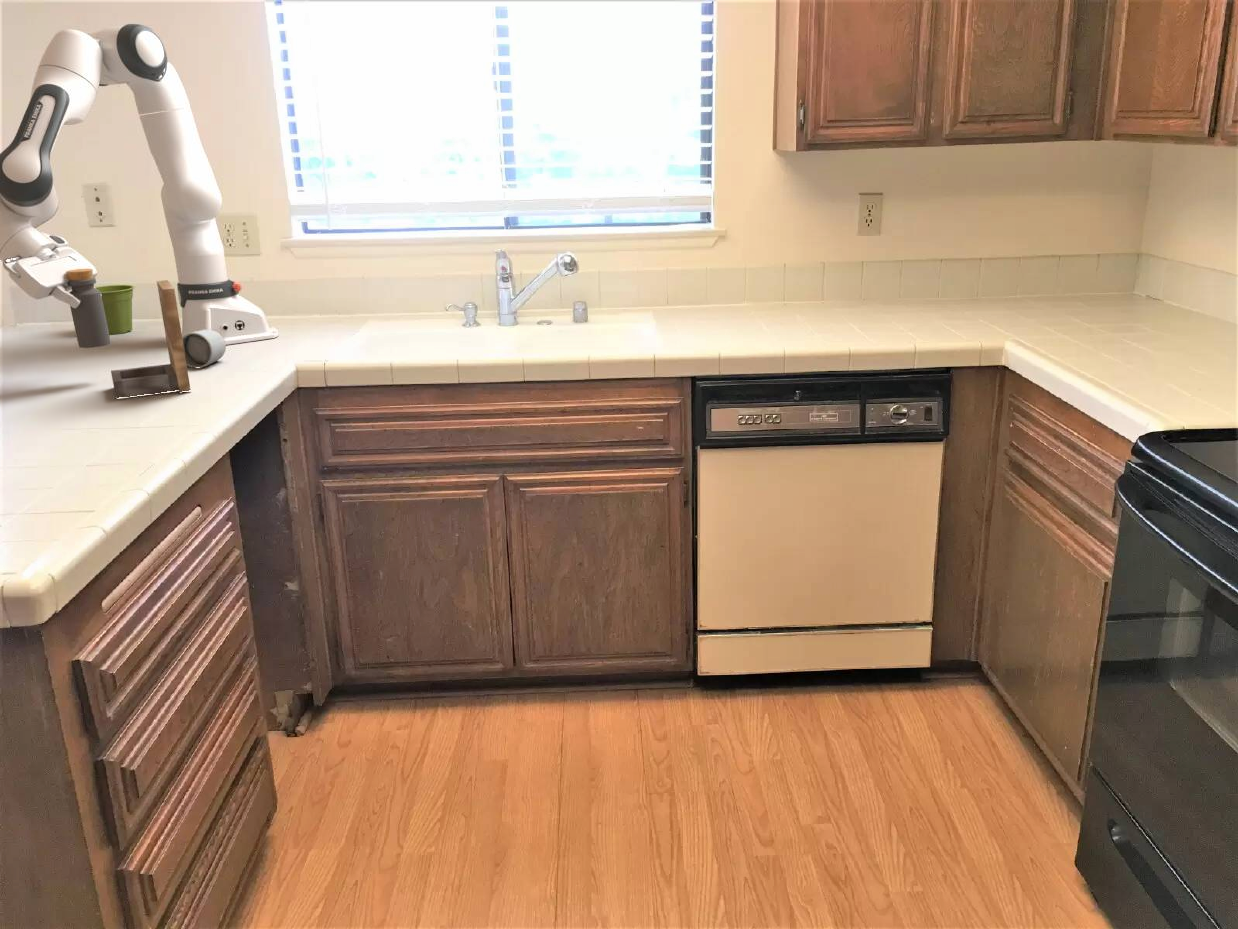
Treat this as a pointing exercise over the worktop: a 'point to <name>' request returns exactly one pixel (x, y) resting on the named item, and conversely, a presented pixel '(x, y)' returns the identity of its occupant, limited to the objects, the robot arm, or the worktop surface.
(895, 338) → the worktop surface
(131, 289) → the plant pot
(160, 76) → the robot arm
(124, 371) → the wooden stand
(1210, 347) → the worktop surface
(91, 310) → the bottle
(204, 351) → the ceramic mug
